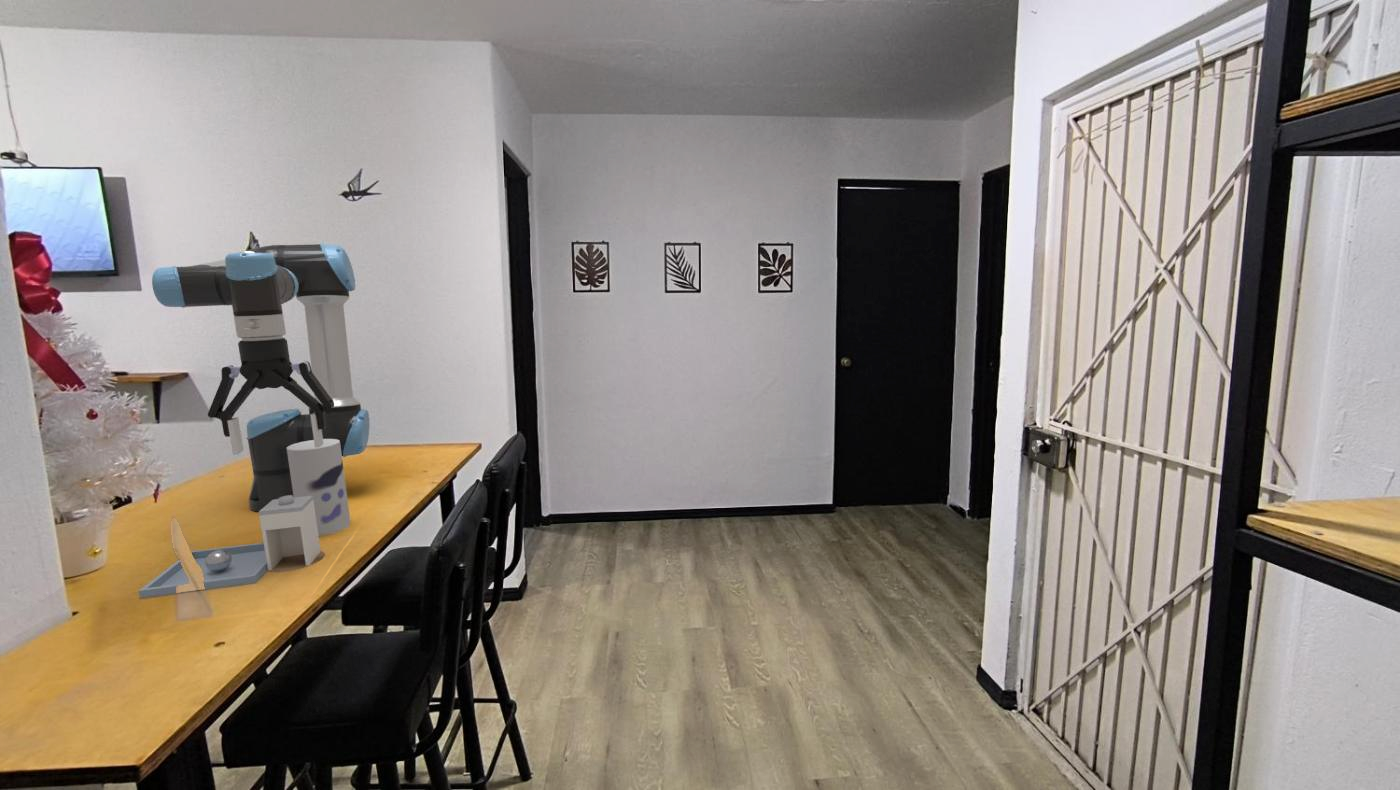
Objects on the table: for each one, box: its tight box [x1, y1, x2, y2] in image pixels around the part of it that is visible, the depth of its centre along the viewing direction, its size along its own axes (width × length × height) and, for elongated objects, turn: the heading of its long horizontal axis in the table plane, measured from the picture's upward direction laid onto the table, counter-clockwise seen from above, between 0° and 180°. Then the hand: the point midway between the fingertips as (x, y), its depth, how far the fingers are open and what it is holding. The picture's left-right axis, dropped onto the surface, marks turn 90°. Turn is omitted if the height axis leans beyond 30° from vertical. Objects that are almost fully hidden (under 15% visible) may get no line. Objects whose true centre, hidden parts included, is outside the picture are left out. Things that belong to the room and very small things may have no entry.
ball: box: [205, 550, 232, 572], centre depth 120 cm, size 4×4×4 cm
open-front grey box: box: [258, 495, 321, 572], centre depth 123 cm, size 7×7×13 cm
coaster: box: [267, 550, 325, 573], centre depth 124 cm, size 10×10×1 cm
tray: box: [138, 542, 268, 600], centre depth 121 cm, size 18×18×2 cm
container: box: [287, 439, 351, 537], centre depth 140 cm, size 10×10×20 cm
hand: (279, 449), depth 121 cm, fingers open, 13 cm apart
